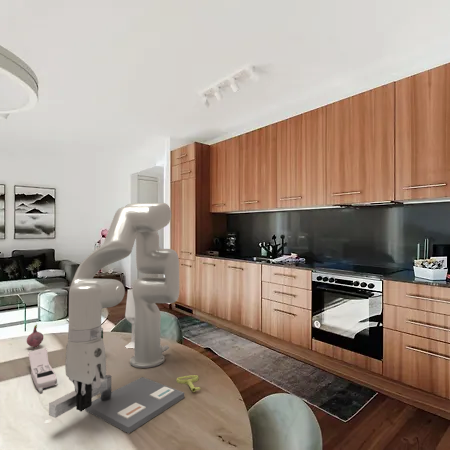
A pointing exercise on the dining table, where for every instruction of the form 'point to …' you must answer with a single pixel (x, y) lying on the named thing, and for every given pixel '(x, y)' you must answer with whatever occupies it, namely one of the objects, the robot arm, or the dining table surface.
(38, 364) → the mobile phone
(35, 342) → the vegetable
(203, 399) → the dining table surface
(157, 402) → the label panel
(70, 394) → the swing arm
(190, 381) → the key
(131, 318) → the champagne flute
